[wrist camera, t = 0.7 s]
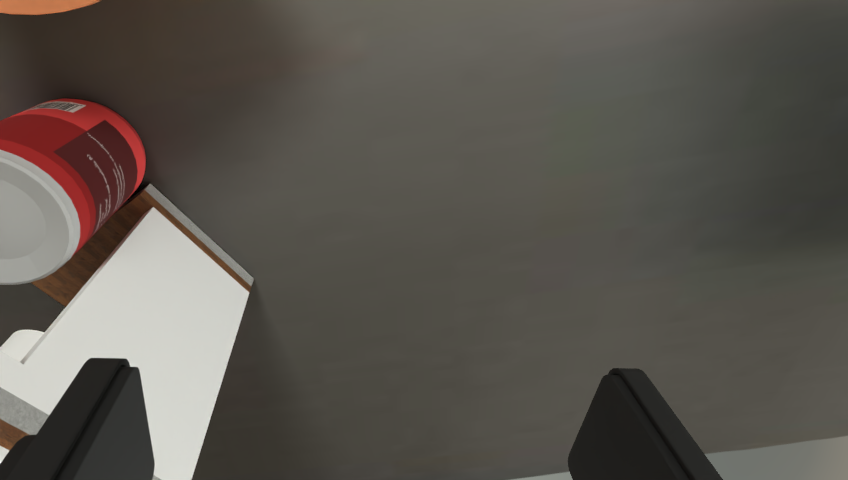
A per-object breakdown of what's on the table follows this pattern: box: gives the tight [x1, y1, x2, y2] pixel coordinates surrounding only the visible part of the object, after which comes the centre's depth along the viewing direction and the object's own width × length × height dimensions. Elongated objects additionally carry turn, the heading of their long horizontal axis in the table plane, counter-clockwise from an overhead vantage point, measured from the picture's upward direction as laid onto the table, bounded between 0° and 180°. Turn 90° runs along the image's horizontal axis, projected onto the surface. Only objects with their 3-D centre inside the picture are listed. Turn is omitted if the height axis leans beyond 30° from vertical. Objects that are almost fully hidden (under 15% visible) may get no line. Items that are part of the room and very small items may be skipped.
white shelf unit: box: [0, 183, 254, 480], centre depth 24 cm, size 11×11×35 cm
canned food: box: [0, 98, 146, 285], centre depth 29 cm, size 8×8×11 cm
